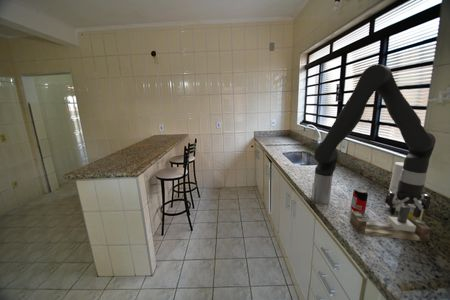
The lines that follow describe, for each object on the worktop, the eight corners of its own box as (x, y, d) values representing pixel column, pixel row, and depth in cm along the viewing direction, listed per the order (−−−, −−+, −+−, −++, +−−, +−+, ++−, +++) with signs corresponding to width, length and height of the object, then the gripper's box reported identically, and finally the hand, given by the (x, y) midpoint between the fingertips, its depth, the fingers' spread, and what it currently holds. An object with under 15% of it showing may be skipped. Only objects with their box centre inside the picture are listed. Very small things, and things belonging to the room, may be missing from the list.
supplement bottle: (411, 216, 95) (416, 198, 93) (423, 223, 90) (429, 204, 88) (401, 217, 95) (406, 198, 92) (413, 224, 90) (418, 204, 87)
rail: (356, 232, 84) (359, 220, 83) (349, 221, 92) (351, 210, 90) (427, 241, 78) (431, 228, 77) (414, 229, 86) (417, 217, 84)
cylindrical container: (396, 212, 99) (407, 167, 93) (382, 205, 106) (391, 162, 99) (406, 210, 101) (417, 165, 95) (391, 203, 108) (401, 161, 101)
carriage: (395, 229, 81) (399, 209, 79) (387, 221, 87) (391, 202, 84) (414, 231, 80) (420, 211, 77) (405, 223, 85) (410, 204, 83)
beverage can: (365, 215, 97) (369, 194, 94) (350, 211, 100) (354, 191, 97) (364, 209, 102) (367, 189, 99) (350, 206, 105) (353, 186, 102)
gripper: (396, 182, 76) (389, 218, 80) (440, 185, 73) (430, 222, 77) (386, 176, 83) (379, 209, 87) (425, 178, 80) (417, 212, 84)
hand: (403, 215), depth 82 cm, fingers open, 8 cm apart
